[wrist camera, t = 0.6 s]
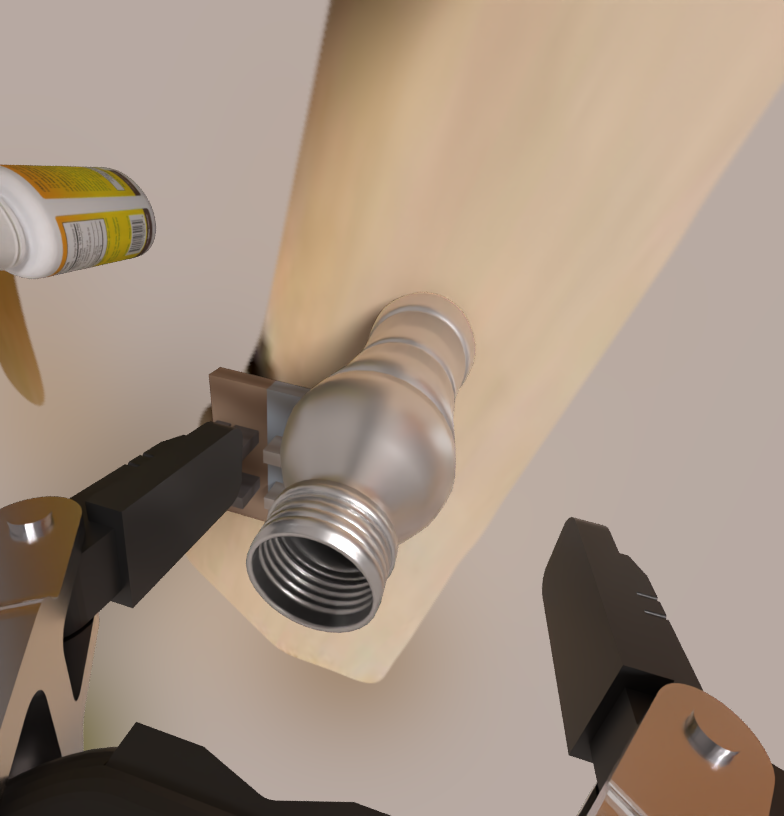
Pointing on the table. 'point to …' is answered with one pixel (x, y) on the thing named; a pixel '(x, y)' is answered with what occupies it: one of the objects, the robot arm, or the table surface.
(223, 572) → the table surface
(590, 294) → the table surface
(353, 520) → the silver threaded hollow container
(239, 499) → the lock board
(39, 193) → the supplement bottle
